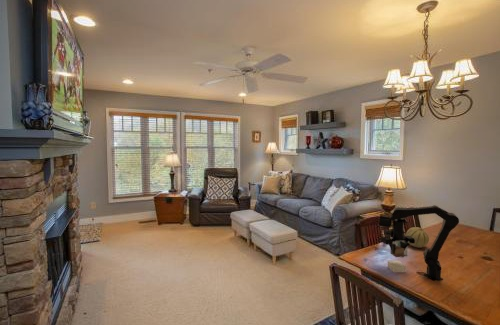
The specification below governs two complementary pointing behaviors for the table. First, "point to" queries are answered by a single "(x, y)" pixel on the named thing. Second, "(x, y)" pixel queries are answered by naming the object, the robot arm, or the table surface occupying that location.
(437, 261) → the robot arm
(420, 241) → the cantaloupe
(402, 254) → the walnut cube
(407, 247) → the light bulb box
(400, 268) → the cream block
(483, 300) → the table surface
